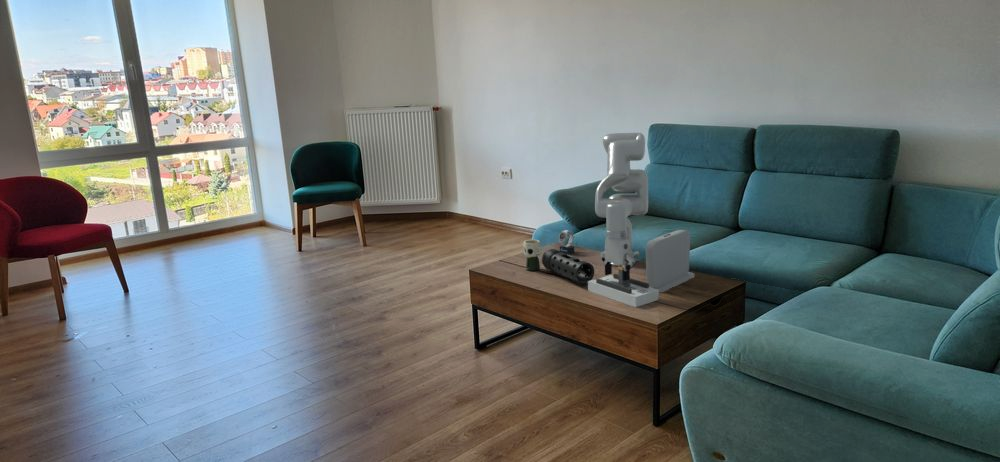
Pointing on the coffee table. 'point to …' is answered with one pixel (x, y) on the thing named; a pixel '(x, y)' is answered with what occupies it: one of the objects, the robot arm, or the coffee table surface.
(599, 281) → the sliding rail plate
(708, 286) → the coffee table surface
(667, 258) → the wireless router
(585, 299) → the coffee table surface
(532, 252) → the character mug
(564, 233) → the watch
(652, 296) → the breaker panel
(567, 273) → the muzzle brake
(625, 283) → the toggle
